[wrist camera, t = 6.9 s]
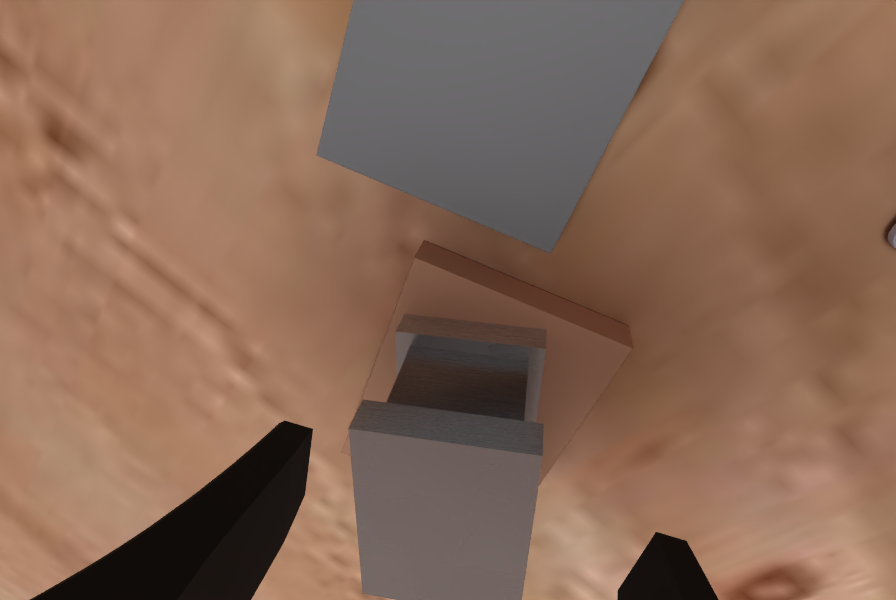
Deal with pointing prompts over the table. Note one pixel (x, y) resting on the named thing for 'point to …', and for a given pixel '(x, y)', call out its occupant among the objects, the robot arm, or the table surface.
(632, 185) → the table surface
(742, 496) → the table surface
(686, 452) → the table surface
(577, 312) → the stand
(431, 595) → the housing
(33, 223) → the table surface
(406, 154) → the stand
